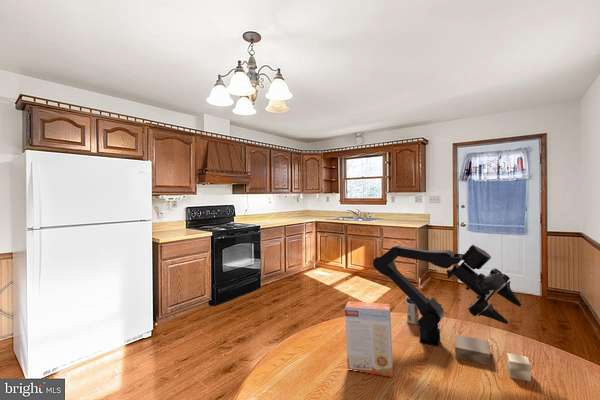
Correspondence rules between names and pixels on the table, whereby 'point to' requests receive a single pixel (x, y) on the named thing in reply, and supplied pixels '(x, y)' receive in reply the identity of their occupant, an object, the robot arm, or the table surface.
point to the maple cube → (519, 367)
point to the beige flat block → (472, 349)
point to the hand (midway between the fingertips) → (514, 314)
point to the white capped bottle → (412, 311)
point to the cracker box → (369, 338)
